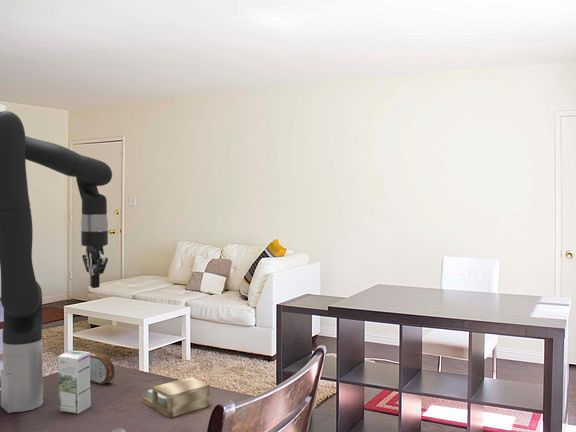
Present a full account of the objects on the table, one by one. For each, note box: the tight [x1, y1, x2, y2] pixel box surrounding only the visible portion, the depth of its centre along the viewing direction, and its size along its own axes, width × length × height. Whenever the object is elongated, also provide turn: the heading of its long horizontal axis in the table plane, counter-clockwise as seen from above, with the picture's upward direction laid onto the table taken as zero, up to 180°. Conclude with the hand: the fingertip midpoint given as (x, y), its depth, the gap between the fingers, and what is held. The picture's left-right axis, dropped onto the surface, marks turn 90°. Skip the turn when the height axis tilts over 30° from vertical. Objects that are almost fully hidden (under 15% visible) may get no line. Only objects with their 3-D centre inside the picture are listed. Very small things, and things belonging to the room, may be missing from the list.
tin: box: [82, 349, 115, 385], centre depth 170 cm, size 15×3×8 cm, turn 58°
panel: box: [146, 389, 167, 407], centre depth 153 cm, size 8×15×2 cm, turn 43°
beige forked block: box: [142, 376, 211, 419], centre depth 151 cm, size 12×13×6 cm
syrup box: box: [57, 350, 92, 415], centre depth 147 cm, size 6×6×14 cm
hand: (95, 287), depth 172 cm, fingers closed
